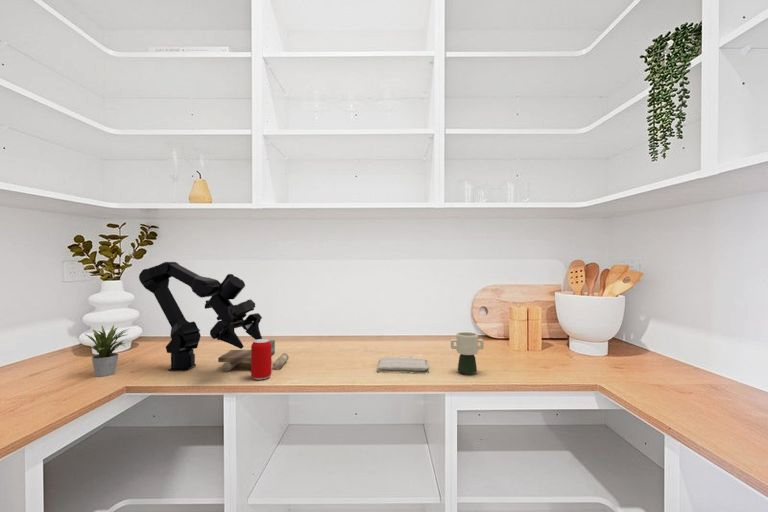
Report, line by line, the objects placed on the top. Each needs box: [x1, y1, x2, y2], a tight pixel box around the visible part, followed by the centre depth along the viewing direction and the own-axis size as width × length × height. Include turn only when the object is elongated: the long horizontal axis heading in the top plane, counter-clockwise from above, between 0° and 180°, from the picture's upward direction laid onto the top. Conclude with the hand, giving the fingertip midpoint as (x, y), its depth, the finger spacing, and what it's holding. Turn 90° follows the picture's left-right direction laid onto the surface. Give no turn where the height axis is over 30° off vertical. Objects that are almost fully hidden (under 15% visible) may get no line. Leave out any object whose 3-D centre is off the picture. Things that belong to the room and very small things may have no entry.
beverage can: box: [250, 338, 272, 381], centre depth 118 cm, size 6×6×12 cm
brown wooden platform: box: [217, 339, 276, 373], centre depth 131 cm, size 16×13×8 cm
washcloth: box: [376, 356, 430, 374], centre depth 129 cm, size 12×18×3 cm, turn 86°
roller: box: [272, 353, 290, 370], centre depth 132 cm, size 3×10×3 cm, turn 1°
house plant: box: [80, 324, 129, 378], centre depth 122 cm, size 14×14×16 cm
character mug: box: [450, 331, 485, 375], centre depth 123 cm, size 11×7×13 cm, turn 88°
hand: (252, 344), depth 119 cm, fingers open, 9 cm apart
